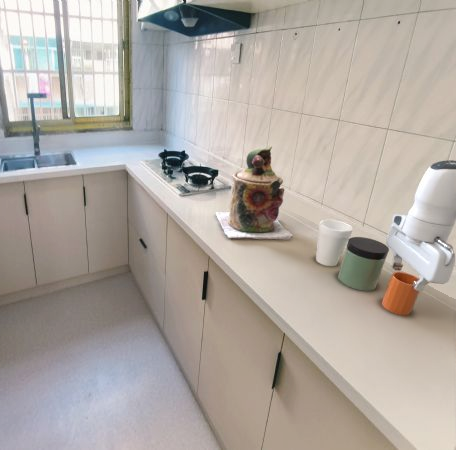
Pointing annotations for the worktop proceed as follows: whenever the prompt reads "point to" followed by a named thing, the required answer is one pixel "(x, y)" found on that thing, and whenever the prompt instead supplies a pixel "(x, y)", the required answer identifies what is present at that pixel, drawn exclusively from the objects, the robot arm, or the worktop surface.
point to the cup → (400, 294)
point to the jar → (360, 271)
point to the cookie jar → (255, 201)
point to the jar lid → (367, 248)
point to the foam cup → (332, 241)
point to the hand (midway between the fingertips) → (405, 278)
